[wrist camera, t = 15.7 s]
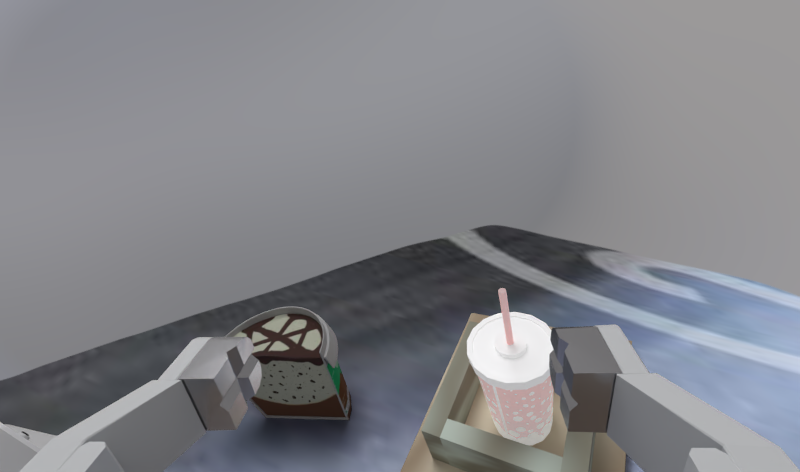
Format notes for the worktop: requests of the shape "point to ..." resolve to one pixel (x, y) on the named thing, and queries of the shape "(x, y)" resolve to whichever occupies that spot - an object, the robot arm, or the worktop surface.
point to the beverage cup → (514, 372)
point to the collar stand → (482, 443)
